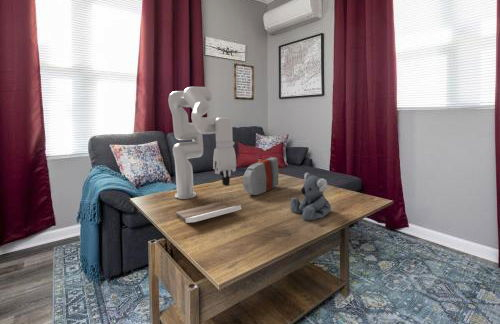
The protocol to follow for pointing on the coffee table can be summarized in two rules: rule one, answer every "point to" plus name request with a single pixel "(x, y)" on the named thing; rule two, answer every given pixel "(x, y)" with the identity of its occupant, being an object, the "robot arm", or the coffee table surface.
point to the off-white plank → (212, 214)
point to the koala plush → (312, 199)
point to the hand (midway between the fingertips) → (226, 184)
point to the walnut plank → (200, 210)
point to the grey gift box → (261, 176)
